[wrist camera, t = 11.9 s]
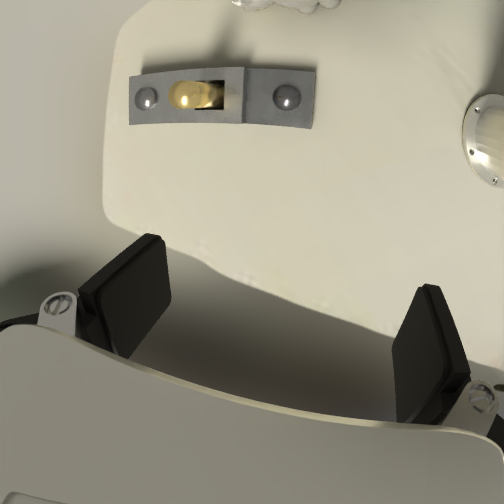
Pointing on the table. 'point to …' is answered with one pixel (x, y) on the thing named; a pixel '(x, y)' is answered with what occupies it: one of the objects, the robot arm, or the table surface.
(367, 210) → the table surface
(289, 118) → the grey flat bar
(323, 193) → the table surface
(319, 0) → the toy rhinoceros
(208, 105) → the pin
